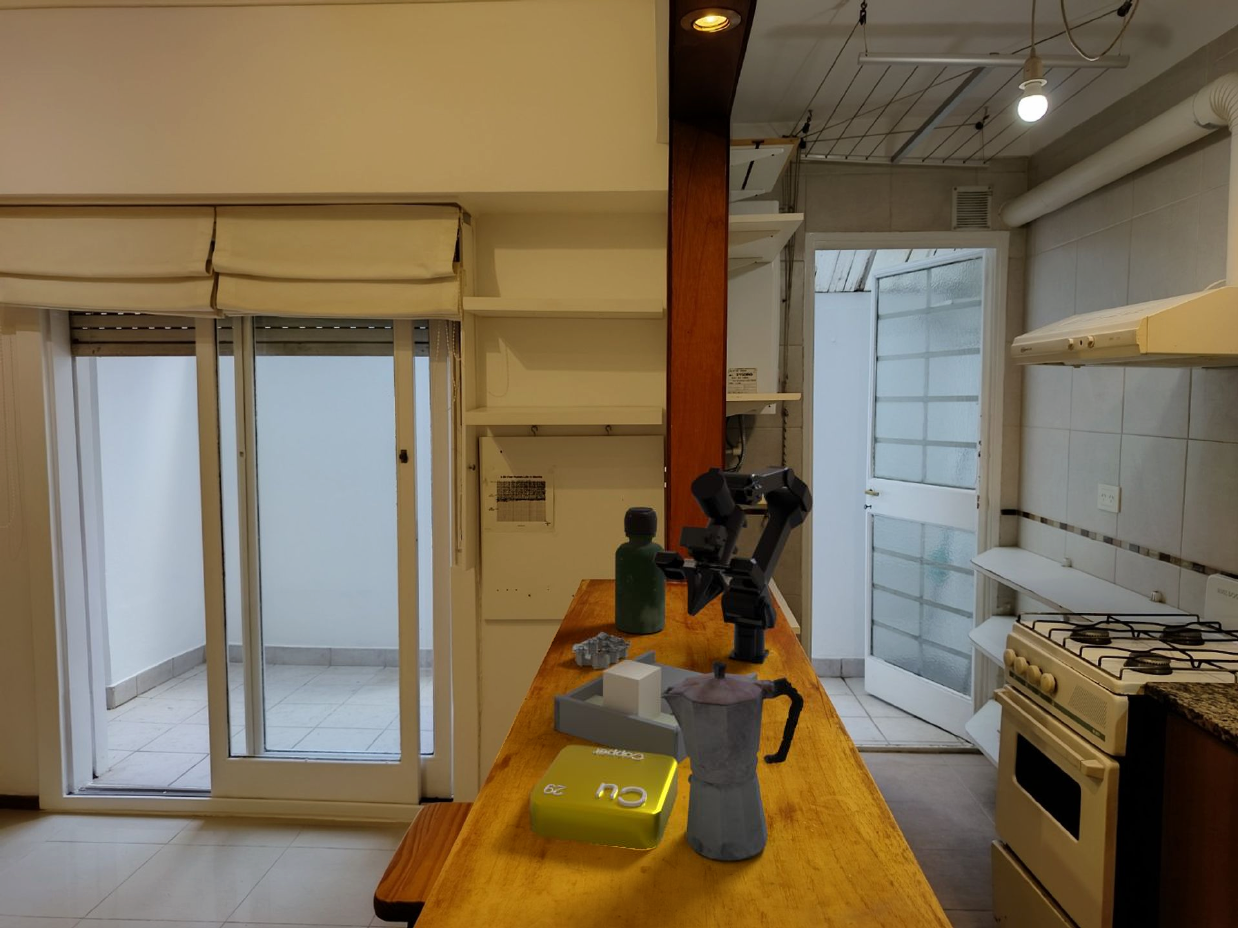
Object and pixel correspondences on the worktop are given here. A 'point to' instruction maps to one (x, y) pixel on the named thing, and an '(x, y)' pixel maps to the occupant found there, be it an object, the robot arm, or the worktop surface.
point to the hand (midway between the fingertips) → (690, 614)
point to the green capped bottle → (639, 576)
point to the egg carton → (609, 653)
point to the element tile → (605, 797)
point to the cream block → (633, 689)
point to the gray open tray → (624, 716)
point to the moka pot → (727, 757)
